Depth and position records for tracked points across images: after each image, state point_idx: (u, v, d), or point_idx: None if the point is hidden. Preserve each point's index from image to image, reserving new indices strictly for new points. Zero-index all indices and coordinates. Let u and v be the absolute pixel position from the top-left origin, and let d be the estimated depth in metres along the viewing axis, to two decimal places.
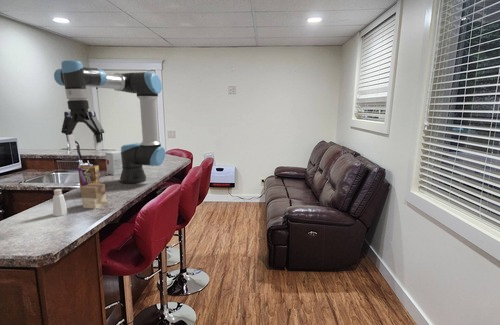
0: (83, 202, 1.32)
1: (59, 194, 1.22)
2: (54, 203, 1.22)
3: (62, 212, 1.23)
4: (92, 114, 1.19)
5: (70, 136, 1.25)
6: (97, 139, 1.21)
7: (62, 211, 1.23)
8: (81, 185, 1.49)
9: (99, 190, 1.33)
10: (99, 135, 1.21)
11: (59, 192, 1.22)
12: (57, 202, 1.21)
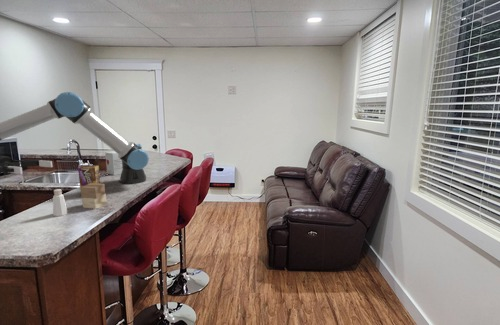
0: (83, 202, 1.32)
1: (59, 194, 1.22)
2: (54, 203, 1.22)
3: (62, 212, 1.23)
4: None
5: (40, 164, 1.30)
6: (10, 171, 1.17)
7: (62, 211, 1.23)
8: (81, 185, 1.49)
9: (99, 190, 1.33)
10: (5, 170, 1.16)
11: (59, 192, 1.22)
12: (57, 202, 1.21)
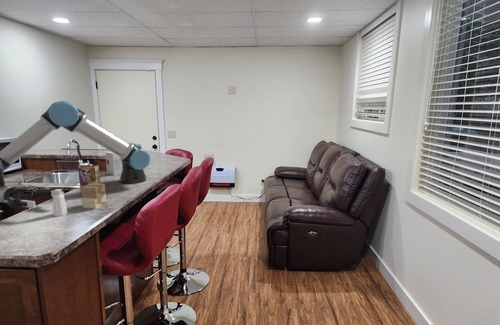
0: (83, 202, 1.32)
1: (59, 194, 1.22)
2: (54, 203, 1.22)
3: (62, 212, 1.23)
4: (6, 202, 1.21)
5: (52, 195, 1.31)
6: None
7: (62, 211, 1.23)
8: (81, 185, 1.49)
9: (99, 190, 1.33)
10: (18, 204, 1.17)
11: (59, 192, 1.22)
12: (57, 202, 1.21)
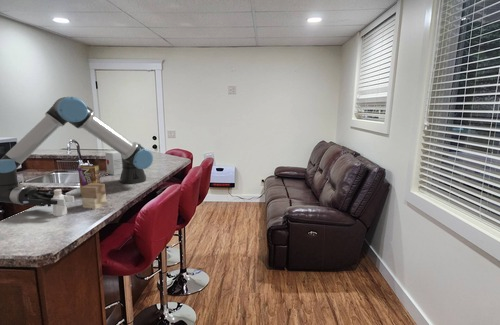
0: (83, 202, 1.32)
1: (59, 194, 1.22)
2: None
3: (62, 212, 1.23)
4: (26, 203, 1.20)
5: None
6: None
7: (62, 211, 1.23)
8: (81, 185, 1.49)
9: (99, 190, 1.33)
10: (48, 202, 1.20)
11: (59, 192, 1.22)
12: None
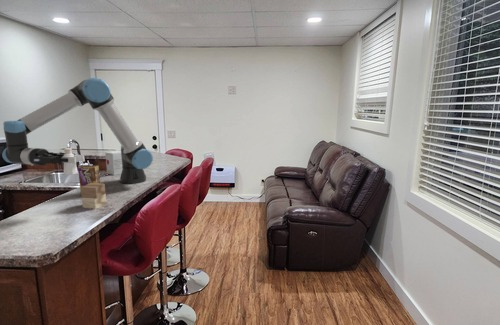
0: (83, 202, 1.32)
1: (69, 153, 1.23)
2: None
3: (72, 171, 1.24)
4: (37, 161, 1.21)
5: None
6: (64, 161, 1.21)
7: (73, 170, 1.24)
8: (81, 185, 1.49)
9: (99, 190, 1.33)
10: (59, 160, 1.21)
11: (69, 151, 1.23)
12: None
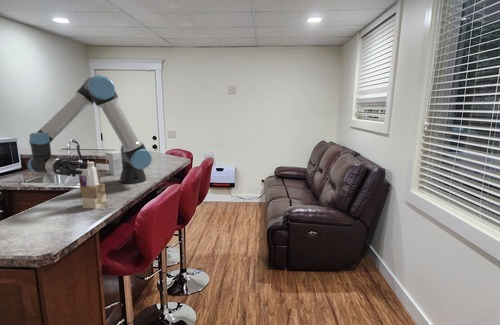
0: (83, 202, 1.32)
1: (92, 166, 1.31)
2: None
3: (95, 183, 1.32)
4: (58, 171, 1.28)
5: (97, 167, 1.38)
6: None
7: (95, 182, 1.32)
8: (81, 185, 1.49)
9: (100, 190, 1.33)
10: (73, 172, 1.25)
11: (92, 164, 1.31)
12: (90, 173, 1.30)
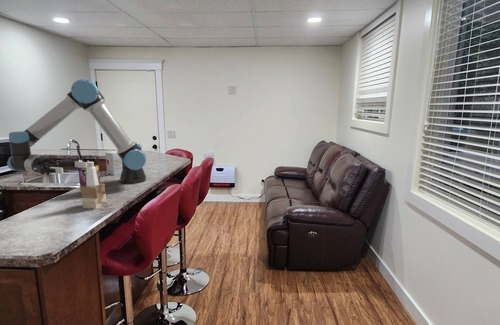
0: (83, 202, 1.32)
1: (92, 166, 1.31)
2: (87, 174, 1.30)
3: (95, 183, 1.32)
4: (35, 169, 1.31)
5: (76, 165, 1.42)
6: None
7: (95, 182, 1.32)
8: (81, 185, 1.49)
9: (100, 190, 1.33)
10: (47, 170, 1.28)
11: (92, 164, 1.31)
12: (90, 173, 1.30)
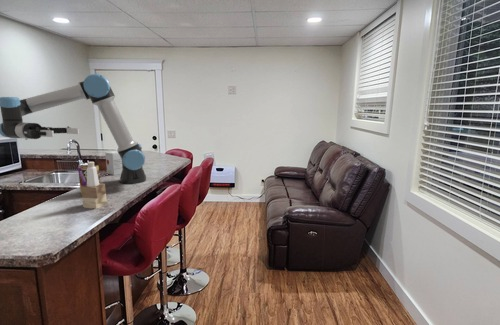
0: (83, 202, 1.32)
1: (92, 166, 1.31)
2: (88, 174, 1.31)
3: (95, 183, 1.32)
4: (25, 133, 1.29)
5: (68, 131, 1.39)
6: (42, 135, 1.25)
7: (95, 182, 1.32)
8: (81, 185, 1.49)
9: (100, 190, 1.33)
10: (38, 133, 1.25)
11: (92, 164, 1.31)
12: (90, 173, 1.30)
